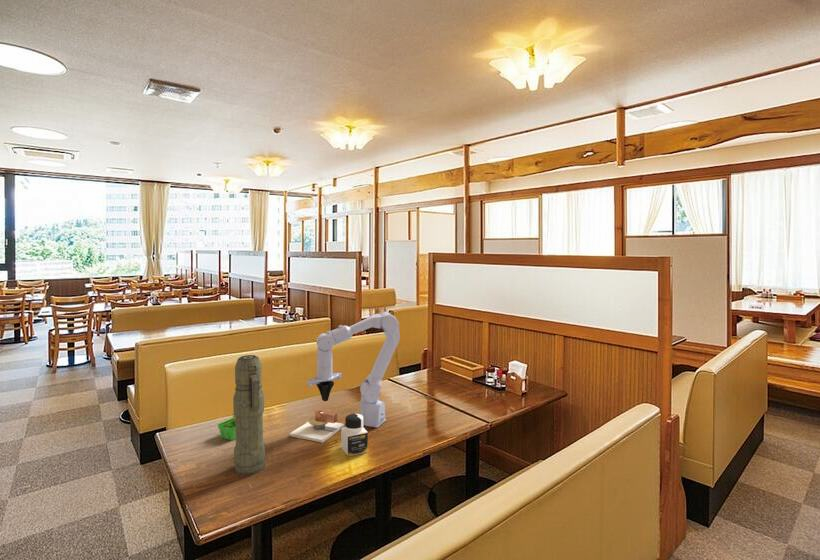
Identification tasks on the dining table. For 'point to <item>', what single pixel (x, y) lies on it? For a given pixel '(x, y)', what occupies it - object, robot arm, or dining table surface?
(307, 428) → the board
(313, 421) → the lever handle
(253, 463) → the thermos
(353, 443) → the medicine bottle
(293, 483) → the dining table surface
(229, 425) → the fruit basket
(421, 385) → the dining table surface
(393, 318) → the robot arm
